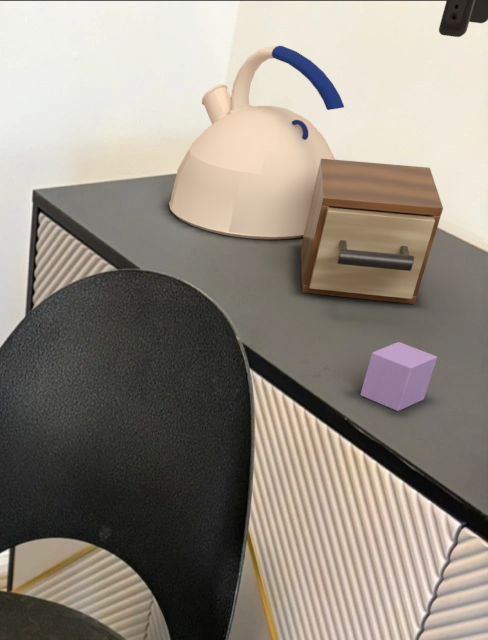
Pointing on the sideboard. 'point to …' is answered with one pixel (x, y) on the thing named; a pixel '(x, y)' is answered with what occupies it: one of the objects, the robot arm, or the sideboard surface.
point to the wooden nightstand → (367, 206)
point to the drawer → (371, 252)
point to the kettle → (254, 159)
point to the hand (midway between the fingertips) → (463, 28)
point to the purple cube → (398, 376)
